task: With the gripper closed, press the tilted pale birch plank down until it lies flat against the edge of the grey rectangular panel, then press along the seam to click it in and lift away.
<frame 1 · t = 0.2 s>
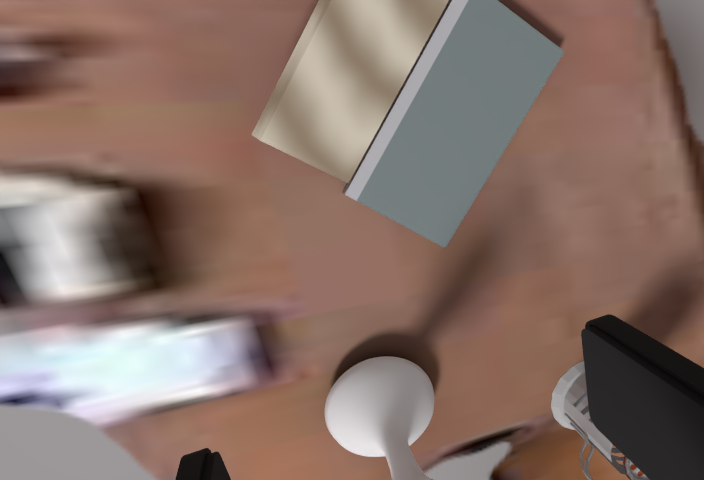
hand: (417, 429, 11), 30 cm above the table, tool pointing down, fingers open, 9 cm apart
grey rectangular panel: (448, 122, 40), on the table
plank: (360, 55, 33), point 4 cm above the table, hinge at 35.0°
french press: (581, 397, 52), on the table
flower in vase: (374, 402, 47), on the table
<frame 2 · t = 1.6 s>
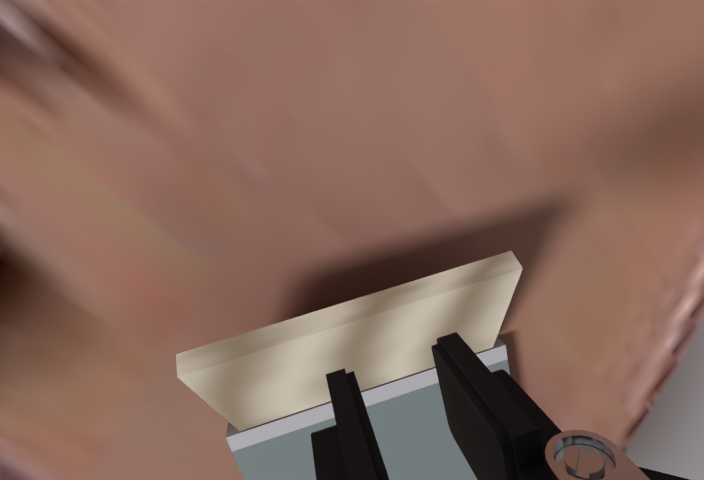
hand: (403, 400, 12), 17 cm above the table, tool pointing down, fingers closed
grey rectangular panel: (383, 439, 33), on the table
plank: (361, 350, 26), point 4 cm above the table, hinge at 35.0°
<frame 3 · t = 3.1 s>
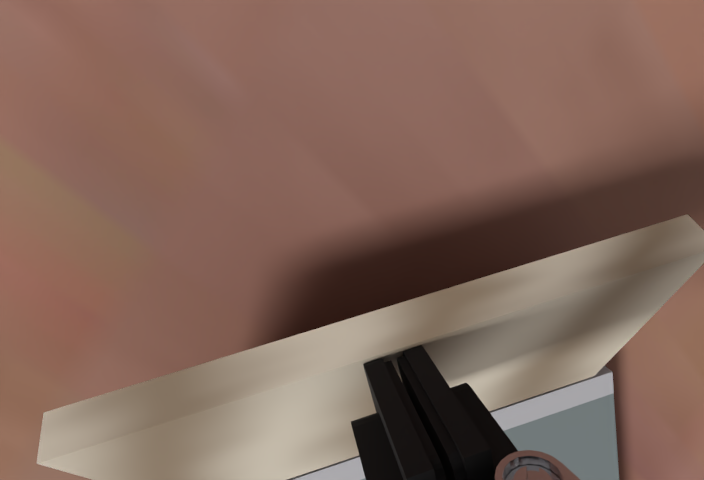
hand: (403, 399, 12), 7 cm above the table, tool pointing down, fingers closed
plank: (397, 389, 15), point 4 cm above the table, hinge at 34.9°, touching gripper
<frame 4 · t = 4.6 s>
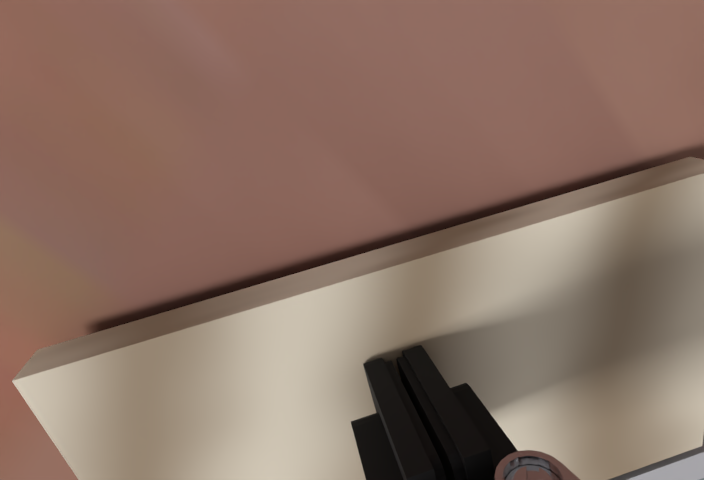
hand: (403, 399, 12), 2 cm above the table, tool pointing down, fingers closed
plank: (423, 405, 13), point 1 cm above the table, hinge at 3.8°, touching gripper
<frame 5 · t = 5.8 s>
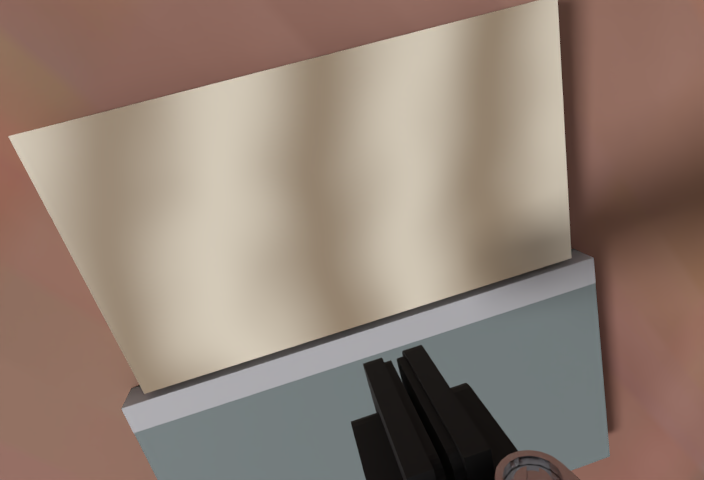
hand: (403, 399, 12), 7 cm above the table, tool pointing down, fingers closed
grey rectangular panel: (390, 416, 21), on the table
plank: (335, 203, 17), point 1 cm above the table, hinge at 3.8°
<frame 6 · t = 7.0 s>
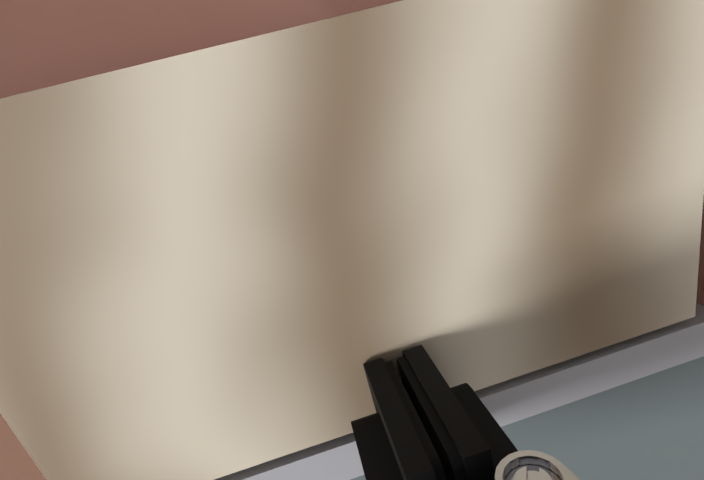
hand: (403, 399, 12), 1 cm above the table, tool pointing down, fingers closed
plank: (363, 244, 11), point 1 cm above the table, hinge at 3.8°, touching gripper
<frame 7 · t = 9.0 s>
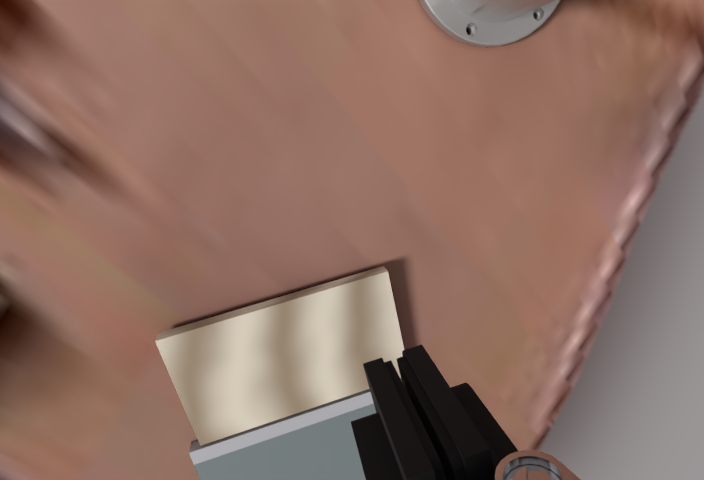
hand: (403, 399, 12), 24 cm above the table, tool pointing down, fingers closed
grey rectangular panel: (323, 454, 40), on the table
plank: (292, 355, 36), point 1 cm above the table, hinge at 3.8°
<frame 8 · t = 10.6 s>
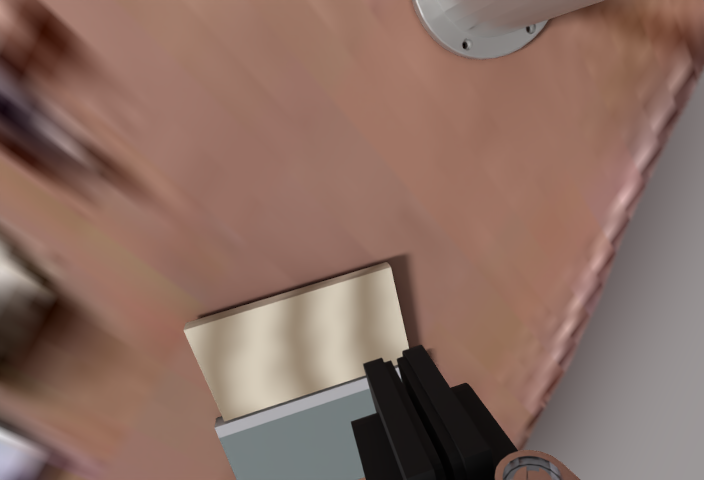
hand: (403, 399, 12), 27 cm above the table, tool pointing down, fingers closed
grey rectangular panel: (333, 430, 44), on the table
plank: (304, 342, 40), point 1 cm above the table, hinge at 3.8°
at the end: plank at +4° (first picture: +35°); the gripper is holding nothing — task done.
